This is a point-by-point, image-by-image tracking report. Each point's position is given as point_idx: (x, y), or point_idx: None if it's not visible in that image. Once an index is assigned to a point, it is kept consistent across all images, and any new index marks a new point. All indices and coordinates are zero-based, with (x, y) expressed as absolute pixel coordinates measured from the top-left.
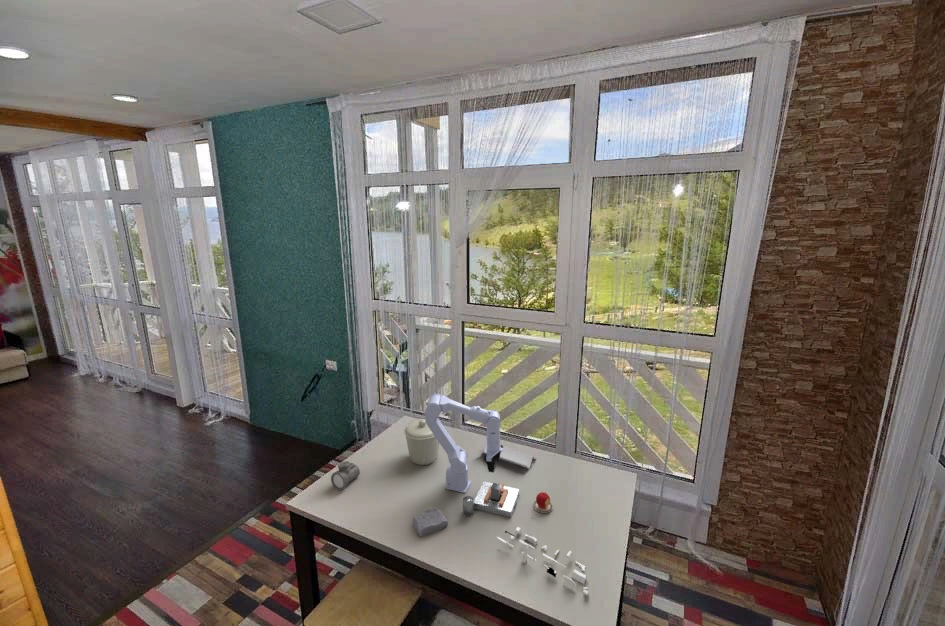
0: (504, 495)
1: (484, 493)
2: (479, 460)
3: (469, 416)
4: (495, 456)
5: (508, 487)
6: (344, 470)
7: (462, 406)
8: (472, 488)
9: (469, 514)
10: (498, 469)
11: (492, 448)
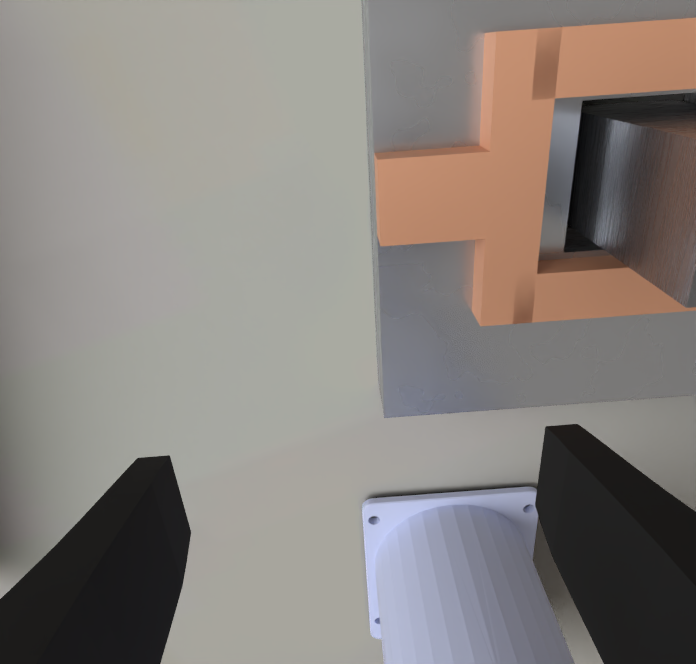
0: (657, 46)
1: (595, 335)
2: (12, 548)
3: None
4: (139, 626)
5: (382, 65)
6: None
7: None
8: (447, 456)
9: None
10: (14, 339)
11: None
